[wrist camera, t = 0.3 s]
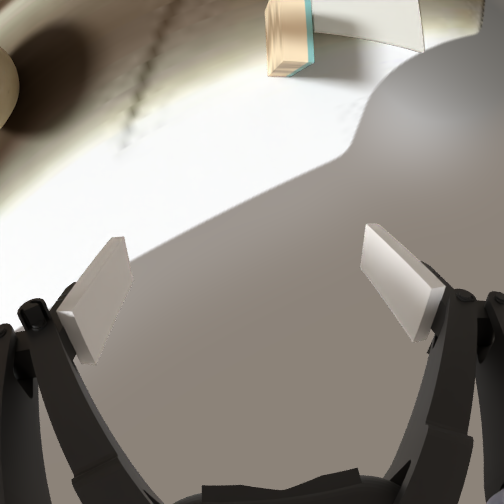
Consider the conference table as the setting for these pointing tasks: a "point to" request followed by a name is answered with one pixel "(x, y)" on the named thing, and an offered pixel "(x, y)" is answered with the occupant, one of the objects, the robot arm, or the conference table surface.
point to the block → (288, 36)
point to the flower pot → (7, 86)
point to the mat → (371, 21)
